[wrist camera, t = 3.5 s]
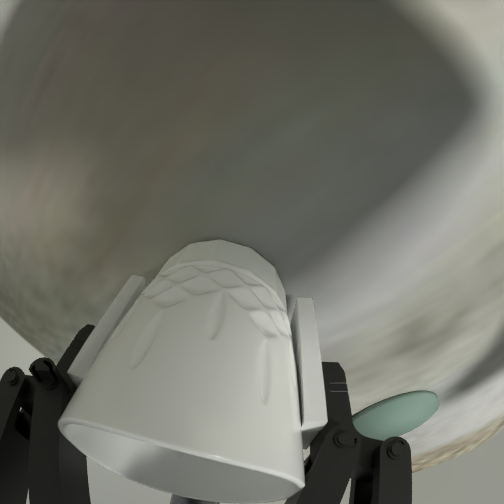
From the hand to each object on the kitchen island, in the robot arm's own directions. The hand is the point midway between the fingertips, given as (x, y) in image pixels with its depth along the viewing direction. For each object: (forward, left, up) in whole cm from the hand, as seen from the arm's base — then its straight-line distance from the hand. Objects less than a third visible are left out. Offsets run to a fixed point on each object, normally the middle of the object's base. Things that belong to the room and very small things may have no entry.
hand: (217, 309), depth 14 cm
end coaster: (+14, +17, -1) cm, 22 cm away
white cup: (0, 0, -1) cm, 1 cm away
